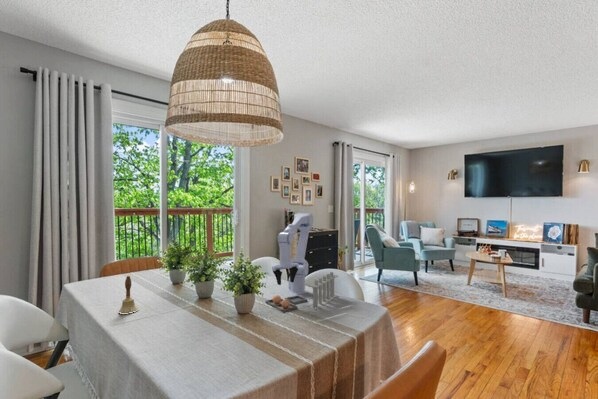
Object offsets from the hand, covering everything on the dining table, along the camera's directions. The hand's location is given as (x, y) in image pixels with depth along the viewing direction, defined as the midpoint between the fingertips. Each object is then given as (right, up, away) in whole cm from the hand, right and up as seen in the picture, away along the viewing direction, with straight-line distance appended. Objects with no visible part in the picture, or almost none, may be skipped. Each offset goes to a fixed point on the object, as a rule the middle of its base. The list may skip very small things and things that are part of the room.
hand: (285, 283), depth 155 cm
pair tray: (-2, -9, -8) cm, 12 cm away
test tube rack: (+19, -9, -2) cm, 21 cm away
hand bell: (-71, -9, -14) cm, 73 cm away
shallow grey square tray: (+5, -9, -1) cm, 10 cm away
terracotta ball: (-4, -9, -5) cm, 11 cm away
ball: (0, -8, -11) cm, 14 cm away
